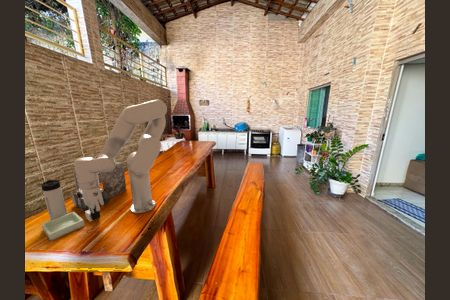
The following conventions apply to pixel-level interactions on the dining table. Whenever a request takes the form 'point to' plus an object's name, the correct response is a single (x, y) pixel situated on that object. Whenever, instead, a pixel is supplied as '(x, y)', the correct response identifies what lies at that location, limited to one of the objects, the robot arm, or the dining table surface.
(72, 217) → the tray
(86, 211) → the white block
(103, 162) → the robot arm
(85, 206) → the trolley
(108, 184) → the stone block
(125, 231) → the dining table surface
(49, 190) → the travel mug
